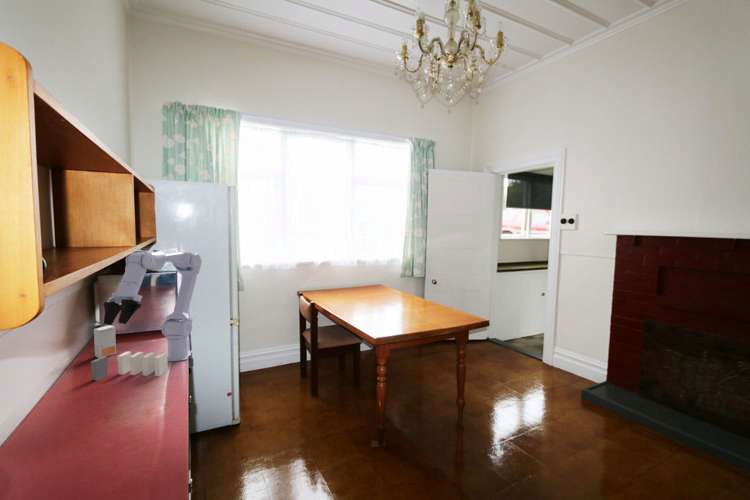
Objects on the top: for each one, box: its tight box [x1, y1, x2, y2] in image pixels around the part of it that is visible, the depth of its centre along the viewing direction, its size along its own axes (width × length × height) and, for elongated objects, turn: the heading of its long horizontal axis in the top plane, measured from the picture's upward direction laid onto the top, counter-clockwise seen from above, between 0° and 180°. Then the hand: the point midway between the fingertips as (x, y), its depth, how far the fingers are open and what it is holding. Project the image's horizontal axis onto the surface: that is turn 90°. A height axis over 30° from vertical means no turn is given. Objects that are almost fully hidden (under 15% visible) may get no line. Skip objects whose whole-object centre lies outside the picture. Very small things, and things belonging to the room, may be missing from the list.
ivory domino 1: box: [116, 351, 133, 376], centre depth 127 cm, size 2×4×7 cm, turn 175°
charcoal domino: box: [90, 357, 108, 382], centre depth 122 cm, size 2×4×7 cm, turn 175°
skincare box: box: [93, 325, 117, 359], centre depth 142 cm, size 6×4×12 cm
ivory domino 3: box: [141, 352, 156, 377], centre depth 126 cm, size 2×4×7 cm, turn 175°
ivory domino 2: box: [129, 351, 144, 376], centre depth 126 cm, size 2×4×7 cm, turn 175°
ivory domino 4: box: [154, 352, 169, 377], centre depth 126 cm, size 2×4×7 cm, turn 176°
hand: (114, 324), depth 109 cm, fingers open, 7 cm apart
